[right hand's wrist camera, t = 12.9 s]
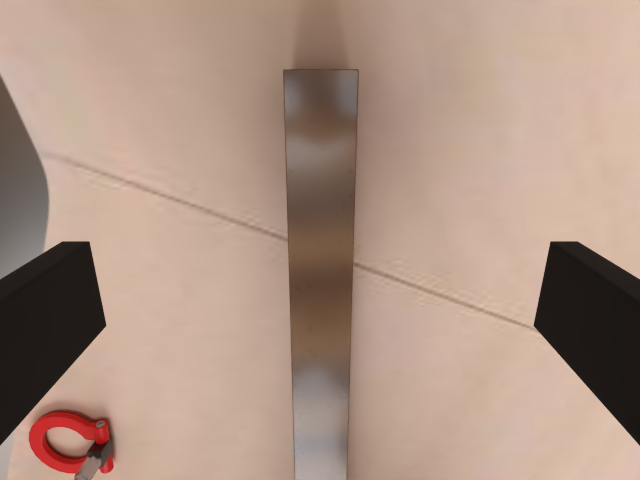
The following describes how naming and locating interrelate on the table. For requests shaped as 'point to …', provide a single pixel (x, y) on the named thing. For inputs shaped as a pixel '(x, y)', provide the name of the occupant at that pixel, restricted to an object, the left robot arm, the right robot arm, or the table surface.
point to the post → (320, 262)
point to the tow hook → (100, 449)
